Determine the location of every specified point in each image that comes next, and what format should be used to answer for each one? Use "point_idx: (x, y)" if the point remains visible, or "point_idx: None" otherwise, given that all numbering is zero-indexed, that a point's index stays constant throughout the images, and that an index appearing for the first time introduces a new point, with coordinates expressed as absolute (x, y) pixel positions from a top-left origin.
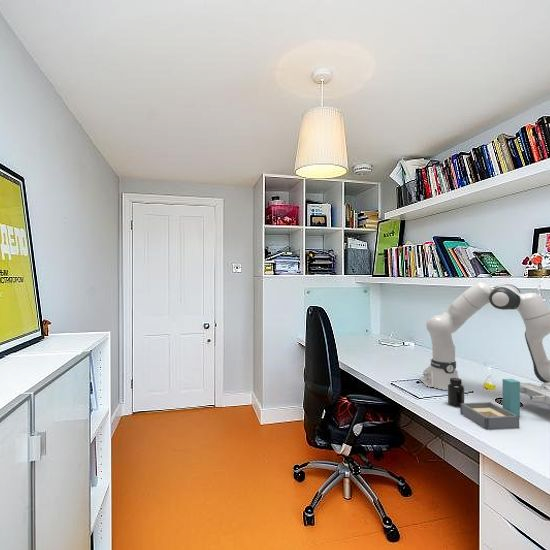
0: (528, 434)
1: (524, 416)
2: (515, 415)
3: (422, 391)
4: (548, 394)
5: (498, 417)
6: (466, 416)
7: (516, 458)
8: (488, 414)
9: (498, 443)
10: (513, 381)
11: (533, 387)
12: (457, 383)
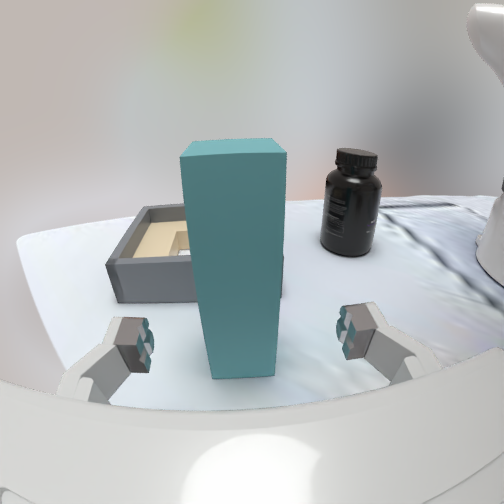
0: (77, 296)
1: (220, 409)
2: (118, 260)
3: (433, 224)
4: (31, 425)
5: (132, 223)
6: None
7: (51, 230)
8: None
9: (92, 230)
10: (200, 146)
11: (381, 483)
12: (336, 160)
